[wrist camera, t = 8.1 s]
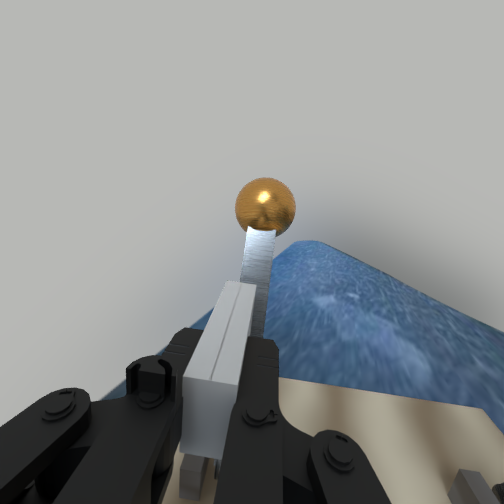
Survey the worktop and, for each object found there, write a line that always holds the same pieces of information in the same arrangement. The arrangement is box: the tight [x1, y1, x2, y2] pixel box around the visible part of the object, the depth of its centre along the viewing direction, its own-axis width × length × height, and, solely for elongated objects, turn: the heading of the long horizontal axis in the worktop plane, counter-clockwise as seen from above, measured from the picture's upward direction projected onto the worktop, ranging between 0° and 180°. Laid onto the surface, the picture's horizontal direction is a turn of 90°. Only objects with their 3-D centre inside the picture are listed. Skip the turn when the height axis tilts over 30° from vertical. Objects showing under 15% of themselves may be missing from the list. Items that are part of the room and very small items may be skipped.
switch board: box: [162, 377, 504, 504], centre depth 14 cm, size 23×16×4 cm
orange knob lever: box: [214, 178, 296, 480], centre depth 15 cm, size 4×4×16 cm
